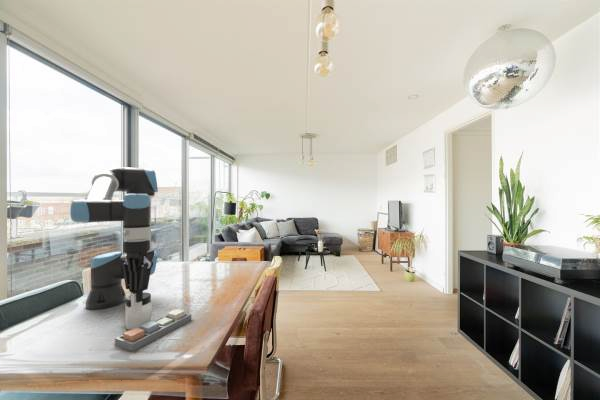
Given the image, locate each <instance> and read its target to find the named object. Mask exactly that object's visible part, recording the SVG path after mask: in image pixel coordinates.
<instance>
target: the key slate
mask: <svg viewBox="0 0 600 400" xmlns="http://www.w3.org/2000/svg"><path fill="white" fill-rule="evenodd" d="M140 329H142V330H144V332H145V333H148V334H150V333H152V332H154V331H156V330H158V329H159V323H158V322H154V320H152V321H150V322H147V323H145V324H143V325H141V326H140Z"/></svg>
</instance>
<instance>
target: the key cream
mask: <svg viewBox="0 0 600 400" xmlns="http://www.w3.org/2000/svg"><path fill="white" fill-rule="evenodd" d="M185 313H186V312H185V310H183V309H179V308H176V309H174V310H172V311H170V312H168V313H167V314H168V318H171V319H175V320H177V319H179V318H181V317H183V316H185Z"/></svg>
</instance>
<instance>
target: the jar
mask: <svg viewBox="0 0 600 400" xmlns="http://www.w3.org/2000/svg"><path fill="white" fill-rule="evenodd" d="M152 303H153V302H152V294H151V293H150V292H143V300H142V310H141V311H139V312H136V313H131V294H130V295H128V296H126V300H125V303H124V304H125V306H124V307H125V311H124V312H125V313H124V316H125V318H124V326H125V328H126V330H132V329H134V328H139V327H140V326H141V325H143V324H145V323H147V322H150V321H153V320H152V319H153V318H152V310H153V309H152V308H153V307H152V305H153V304H152Z"/></svg>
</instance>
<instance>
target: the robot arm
mask: <svg viewBox="0 0 600 400" xmlns="http://www.w3.org/2000/svg"><path fill="white" fill-rule="evenodd" d="M156 175H157V174H156V171H155V170H154V169H152V168H145V167H142V168H141V167H128V166H127V167H123V166H114V167H110V168H106V169H104V170H101V171H99V172H97V173H96V174H95V175H94V176H93V177H92V180H91V188H90V190H89V191H88V193H87V195H86V197H85V198H84V199H75V200H73V201H72V202H71V204H70V211H69V212H70V219H71V221H72V222H74V223H85V224H87V223H104V222H107V223H108V222H123V225H122V226H123V228H122V229H123V232H122V235H123V238H122V239H123V240H124V241H123V243H122V250H123V251H112V252H107V253H102V254H98V255H96V256H94V257H93V258H92V259H91V261H90V290H89V293H88V296H87V297H86V301H85V309H87V310H100V309H107V308H112V307H115V306H118V305H120V304H123V303H124V302H126V298H127V295H126V291H125V290H128V291H129V292H130V295H131V313H136V312H139V311H141V310H142V300H143V293H144V291H146V290H148V287H149V282H150V278H151V276H152V275H153V274H155V271H156V267H157V264H158V251H156V250H155V248H154V247H153V245H151V244H152V199H153V198H154V197H155V194H156V193H158V192H159V191H158V190H159V189H158V181H157V176H156ZM115 192H122V193H123V192H125V193H126V194H124V196H123V199H113V197H114V194H115ZM123 253H124V254H123ZM122 281H124V285H125V290H124V287H123V285H122Z"/></svg>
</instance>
